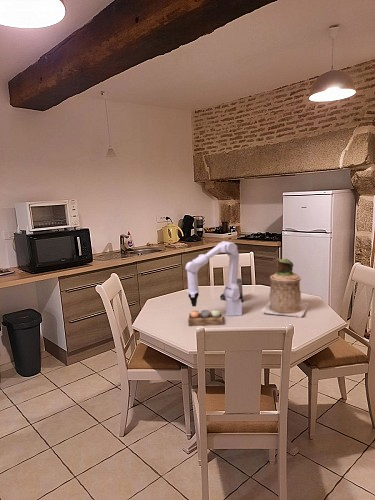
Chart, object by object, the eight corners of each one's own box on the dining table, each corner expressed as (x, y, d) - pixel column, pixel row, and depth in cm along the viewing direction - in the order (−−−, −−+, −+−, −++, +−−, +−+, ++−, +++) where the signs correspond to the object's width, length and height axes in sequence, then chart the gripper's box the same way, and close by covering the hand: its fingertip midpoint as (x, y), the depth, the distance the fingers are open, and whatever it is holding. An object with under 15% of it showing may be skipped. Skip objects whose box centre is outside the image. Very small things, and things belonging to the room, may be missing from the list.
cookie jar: (303, 318, 197) (303, 262, 192) (260, 314, 208) (258, 261, 202) (308, 304, 219) (308, 254, 214) (269, 302, 230) (267, 254, 225)
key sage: (219, 315, 203) (219, 309, 202) (220, 318, 198) (219, 312, 198) (211, 315, 203) (211, 309, 202) (211, 318, 198) (211, 312, 198)
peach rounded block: (199, 316, 204) (198, 310, 203) (198, 318, 199) (198, 313, 198) (191, 316, 204) (190, 310, 203) (190, 319, 199) (190, 313, 199)
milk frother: (243, 303, 229) (242, 281, 227) (219, 303, 232) (218, 282, 230) (243, 297, 243) (242, 276, 241) (220, 297, 246) (219, 276, 243)
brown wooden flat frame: (221, 317, 207) (221, 312, 206) (222, 324, 195) (222, 319, 194) (189, 318, 208) (189, 313, 208) (188, 326, 196) (188, 320, 196)
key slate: (209, 315, 203) (209, 309, 203) (209, 318, 199) (209, 312, 198) (201, 316, 203) (201, 310, 203) (201, 318, 199) (200, 312, 198)
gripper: (186, 280, 206) (188, 302, 208) (184, 286, 191) (186, 310, 194) (198, 279, 205) (200, 301, 207) (197, 286, 191) (199, 310, 193)
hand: (194, 306), depth 200 cm, fingers closed
